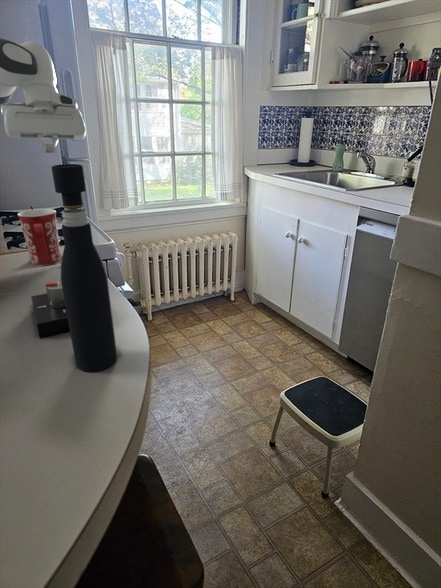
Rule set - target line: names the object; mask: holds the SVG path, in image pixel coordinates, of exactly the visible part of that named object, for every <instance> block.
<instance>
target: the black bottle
mask: <svg viewBox="0 0 441 588" xmlns="http://www.w3.org/2000/svg"><path fill="white" fill-rule="evenodd" d="M51 171H52V179H53V185H54V191H55V193H57V194H61V200H62V207H63V209H64V210H62V211H61V212H62V214H61V217H62V218H63V219H62V222H63V224H62V225H61V231H62V236H63V241H64V242H63V243H64V247H63V252H62V257H61V262H60V263H61V264H60V280H61V284H62V289H63V295H64V300H65V306H66V312H67V317H68V323H69V328H70V332H69V334H70V340H71V344H72V350H73V356H74V362H75V366H76V368H77V369H78V370H79V371H82V372H86V373H98V372H103V371H105V370H108V369H110V368H111V367H112V366H114V365H115V363H116V362H118V361H117V360H118V352H117V344H116V338H115V337H116V336H115V328H114V320H113V312H112V305H111V297H110V296H111V295H110V287H109V282H108V280H109V279H108V274H107V271H106V268H105V265H104V262H103V260H102V256H100V252H99V251H98V250H97V248H96V245H95V243H94V240H93V239H94V238H93V233H92V224H91V223H90V222H88V221H89V218H88V217H87V216H88V212H87V210H86V208H83V207H84V202H83V194H82V193H84V192H86V191H87V187H86V178H85V171H84V165H83V164H79V163H78V164H77V163H64V164H54V165H51Z"/></svg>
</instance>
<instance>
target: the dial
mask: <svg viewBox="0 0 441 588" xmlns="http://www.w3.org/2000/svg"><path fill="white" fill-rule="evenodd" d="M45 289H46V294H47V295H48V300H49V305H50V307H52V308H57V309H59V308H65V307H66V306H65V300H64V295H63V289H62V284H61V279H59V280H58V279H57V280H53V281H50V282H46V283H45Z"/></svg>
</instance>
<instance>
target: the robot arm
mask: <svg viewBox="0 0 441 588" xmlns="http://www.w3.org/2000/svg"><path fill="white" fill-rule="evenodd" d="M17 88H21V90H22V91H23V96H24V97H23V98H24V102H12V101H10V100H11V99H12V97H13V95H14V93H15V91H16V89H17ZM77 102H78V101H77V100H76V98H73V97H71V96H69V95H65V94H63V93H61V92H59V91H58V89H57V75H56V71H55V67H54V63H53V60H52V57H51V55H50V54H49V52H48V50H47V49H46V48H45V47H44V46H43V45H41V44H40V43H38V42H36V41H35V42H34V41H25V42H22V43H16V42H14V41H11V40H9V39H6V38H0V105H1V106H0V113H1V115H2V117H3V118H4V119H3V121H4V122H3V123H4V130H5V134H6V135H7V136H8V137H9V138H11V139H37V142H38V143H39V144H40V146H41V147H42V148H43V152H44V154H57V150H56V149H57V148H56V147H57V145H58V143H59V140H82V141H83V140H84V139H85V138H86V135H87V129H86V124H85V120H84V117H83V115H82V113H81V111H80V109H79V108H78V103H77ZM45 139H48V140H49V139H50V140H51V139H52V143H46V142H45Z"/></svg>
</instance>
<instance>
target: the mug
mask: <svg viewBox="0 0 441 588" xmlns="http://www.w3.org/2000/svg"><path fill="white" fill-rule="evenodd" d="M17 217H18V219H19V223H20V226H21V229H22V230H21V231H22V233H23V236H24V239H25V240H24V241H25V244H26V249H27V251H28V255H29V259H30V262H31V263H32V264H34V265H44V267H49V266H53V265H54V266H55V263H57V262H59V261H60V260H62V257H61V248H60V243H59V242H60V240H59V231H58V223H57V211H56V210H55V209H51V208H36V209H28V210H24V211H20V212H18V213H17Z"/></svg>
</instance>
